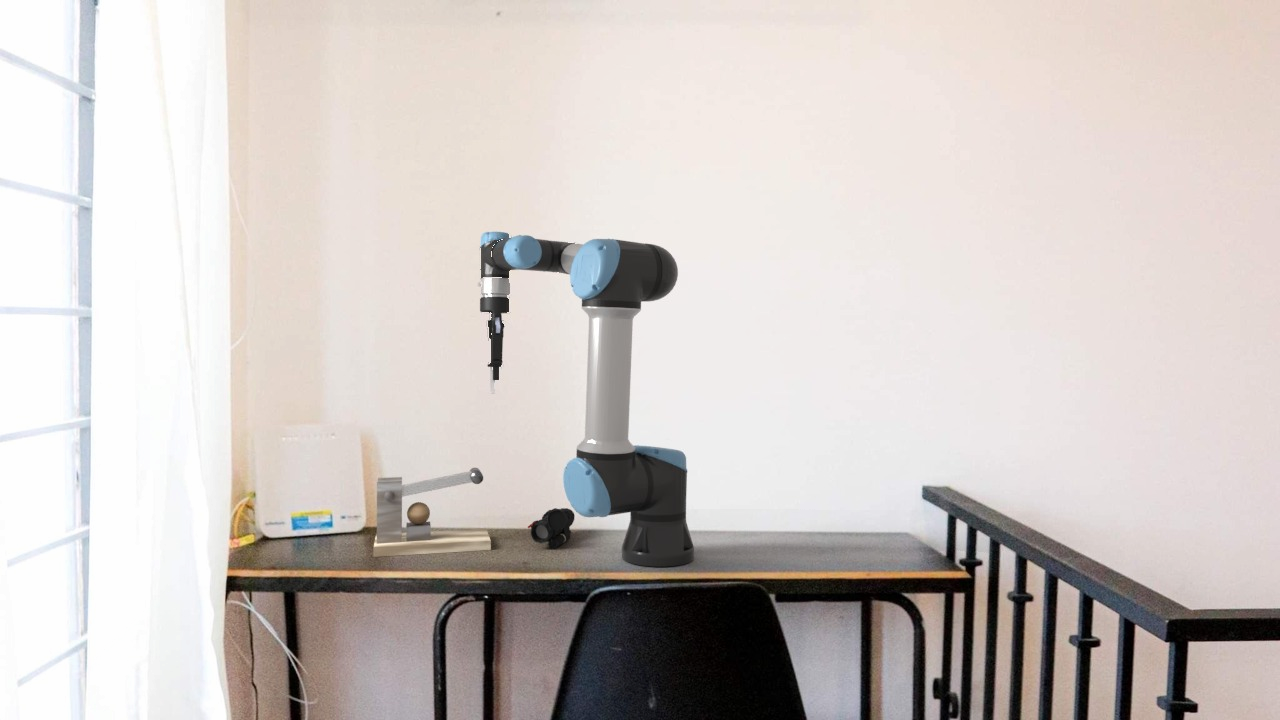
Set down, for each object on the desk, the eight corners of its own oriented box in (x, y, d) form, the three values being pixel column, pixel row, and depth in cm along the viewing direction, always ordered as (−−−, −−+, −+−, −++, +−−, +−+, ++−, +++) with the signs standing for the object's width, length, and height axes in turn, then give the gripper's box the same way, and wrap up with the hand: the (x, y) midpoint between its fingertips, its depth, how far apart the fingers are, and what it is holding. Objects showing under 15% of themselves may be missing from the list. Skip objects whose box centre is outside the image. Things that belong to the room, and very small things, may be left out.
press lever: (484, 482, 174) (482, 471, 174) (385, 503, 169) (383, 491, 169) (481, 477, 181) (479, 466, 181) (386, 497, 176) (384, 485, 176)
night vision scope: (565, 543, 190) (596, 518, 187) (536, 563, 172) (569, 536, 170) (545, 516, 191) (575, 491, 188) (514, 534, 174) (547, 506, 171)
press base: (490, 549, 173) (491, 480, 172) (373, 556, 166) (373, 484, 166) (485, 537, 184) (486, 472, 184) (375, 543, 178) (376, 475, 177)
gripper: (477, 297, 200) (477, 392, 200) (482, 294, 188) (481, 395, 188) (508, 298, 202) (507, 392, 202) (514, 295, 190) (513, 395, 190)
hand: (495, 393), depth 195 cm, fingers closed
